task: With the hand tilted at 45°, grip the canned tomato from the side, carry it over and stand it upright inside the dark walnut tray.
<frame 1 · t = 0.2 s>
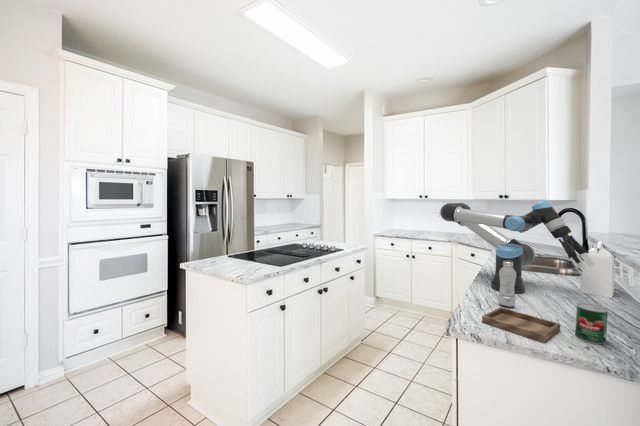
hand: (588, 267, 139), 16 cm above the counter, tool tilted 35°, fingers open, 13 cm apart
walnut tray: (519, 326, 110), on the counter
canned tomato: (590, 339, 101), on the counter
milk: (597, 292, 152), on the counter
plastic bottle: (506, 306, 131), on the counter
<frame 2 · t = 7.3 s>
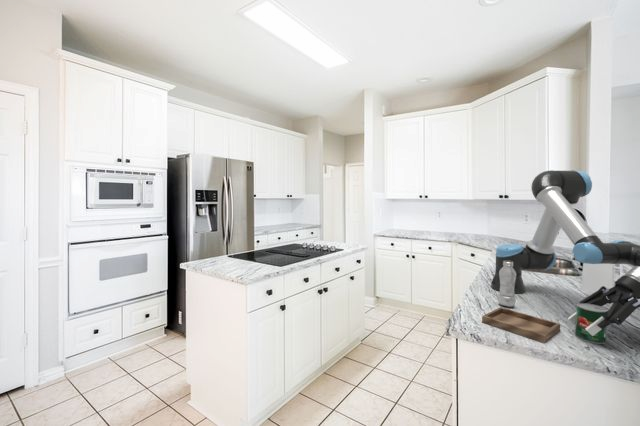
hand: (579, 326, 101), 4 cm above the counter, tool tilted 45°, fingers closed on canned tomato, 8 cm apart
canned tomato: (590, 339, 101), on the counter, touching gripper
everything else where it was.
when the fingers open (6 cm above the counter, at t = 12.7 s): canned tomato drops 1 cm, resting on walnut tray.
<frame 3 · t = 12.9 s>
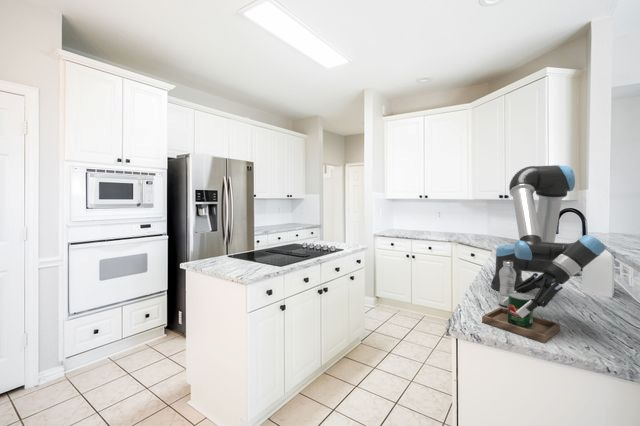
hand: (511, 309, 110), 6 cm above the counter, tool tilted 45°, fingers open, 10 cm apart
canned tomato: (519, 325, 110), resting on walnut tray
everything else where it was.
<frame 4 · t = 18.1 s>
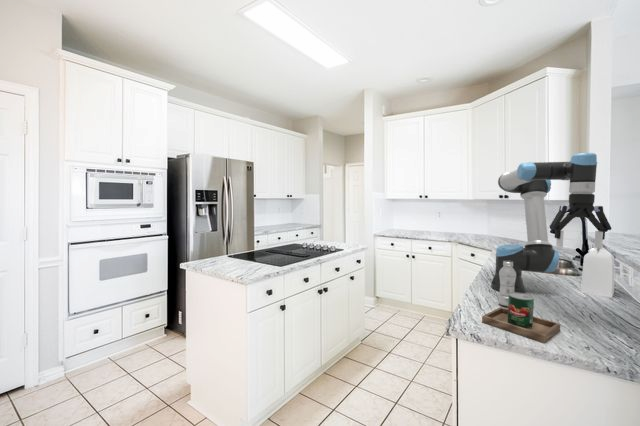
hand: (578, 247, 116), 29 cm above the counter, tool pointing down, fingers open, 13 cm apart
nothing on the counter moved.
at the end: canned tomato inside the target area on the walnut tray (0.2 cm from its centre), point 0.4 cm above the walnut tray's base; canned tomato tilted 0°; the gripper is holding nothing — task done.
